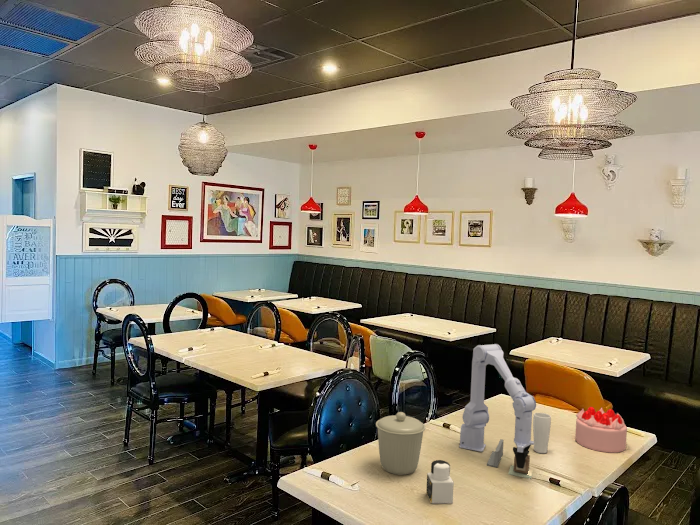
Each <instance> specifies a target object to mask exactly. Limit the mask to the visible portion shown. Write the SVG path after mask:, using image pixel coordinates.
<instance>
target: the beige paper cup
mask: <svg viewBox="0 0 700 525" xmlns="http://www.w3.org/2000/svg"><path fill="white" fill-rule="evenodd" d="M532 418H533V419H532V430H533V441H534V445H533V451H534V452H536V453H538V454H546V453H548V447H549V440H550V433H551V426H552V416H551V415H550V414H549V413H545V412H534V413H533V416H532Z"/></svg>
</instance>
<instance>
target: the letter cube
mask: <svg viewBox="0 0 700 525" xmlns="http://www.w3.org/2000/svg"><path fill="white" fill-rule="evenodd" d="M513 458H514V459H513V465H514V471H516V472H521V473H526V474H528V471H529V469H530V460H531V459H530V458H531V455H530V454H528V455H527V457H526V460H525V465H524V468H523V469H522V468H518V467H517V463H516V457H515V456H514V457H513Z"/></svg>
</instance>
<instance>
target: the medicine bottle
mask: <svg viewBox="0 0 700 525" xmlns="http://www.w3.org/2000/svg"><path fill="white" fill-rule="evenodd" d="M430 465H431V466H430V467H431V468H430V472H427V473H426V495H427V497H428V500H429V501H430V503H431V504H454V503H453V502H454V481H453V478H452V477H451V476H450V475H451V465H450V463H449V462H448V461H445V460H442V459H436V460H433V461H432V462H431V464H430Z"/></svg>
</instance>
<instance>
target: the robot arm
mask: <svg viewBox="0 0 700 525" xmlns="http://www.w3.org/2000/svg"><path fill="white" fill-rule="evenodd" d="M472 350H473V352H472V360H471V380H470V381H471V382H470V400H469V402H468V403H467V404H466V405H465V406H464V410H463V413H462V422H463V423H462V424H461V425H460V431H459V432H460V433H459V446H458V447H459V448H460V449H465V450H470V451H474V452H475V451H476V452H479V453H480V452H482V453H483V452H484V450H485V448H486V446H487V444H486V443H485V427H486V426H487V424H488V423H489V421H490V413H489V407H488V406H487V405H486V404H485V390H486V389H485V388H486V386H485V385H486V368H487V365H491V366H494V368H495V369H496V370H497V372H498V374H499V375H500V376H501V377H502V379H503V380H504V388H505V390H506V391H507V393H508V394H509V397H510V398H511V399H512V402H511V403H512V408H513V409H514V416H515V423H514V438H513V443H514V444H515V446H513V447H512V452H513V454H514V457H516V463H517V467H518V468H522V469H523V468H524V465H525V460H526V457H527V455H529V453H530V450H529V449H530V448H531V446H532V445H533V446H534V440H531V439H532V426H533V419H532V418H533V411H534V410H536V408H537V402H536V399H535V397H534V396H533V395H531V394H530V393H528V392H527V391H526V389H525V387H523V385H522V383H521V381H520V379H518V378H517V377H514V376H513V374H512V372H511V370H510V368H509V366H508V364H507V362H506V361H505V358H504V354H505V353H504V351H503V350H502V347H501V346H500V345H499V344H498V343H494V344H493V343H492V344H484V345H483V344H482V345H481V344H478V345H476V346H475V347H474V348H472Z"/></svg>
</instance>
